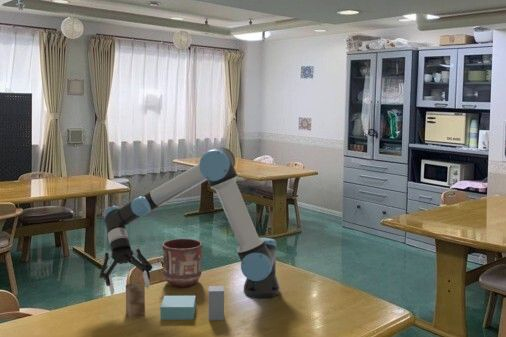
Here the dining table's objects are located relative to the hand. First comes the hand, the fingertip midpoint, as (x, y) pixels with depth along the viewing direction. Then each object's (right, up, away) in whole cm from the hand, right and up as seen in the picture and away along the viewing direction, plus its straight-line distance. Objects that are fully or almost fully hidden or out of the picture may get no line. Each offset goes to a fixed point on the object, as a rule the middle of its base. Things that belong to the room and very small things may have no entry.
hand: (130, 290), depth 201 cm
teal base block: (+18, -9, +1) cm, 20 cm away
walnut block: (+2, -9, -1) cm, 9 cm away
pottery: (+15, -5, +35) cm, 38 cm away
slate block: (+32, -9, -3) cm, 34 cm away
